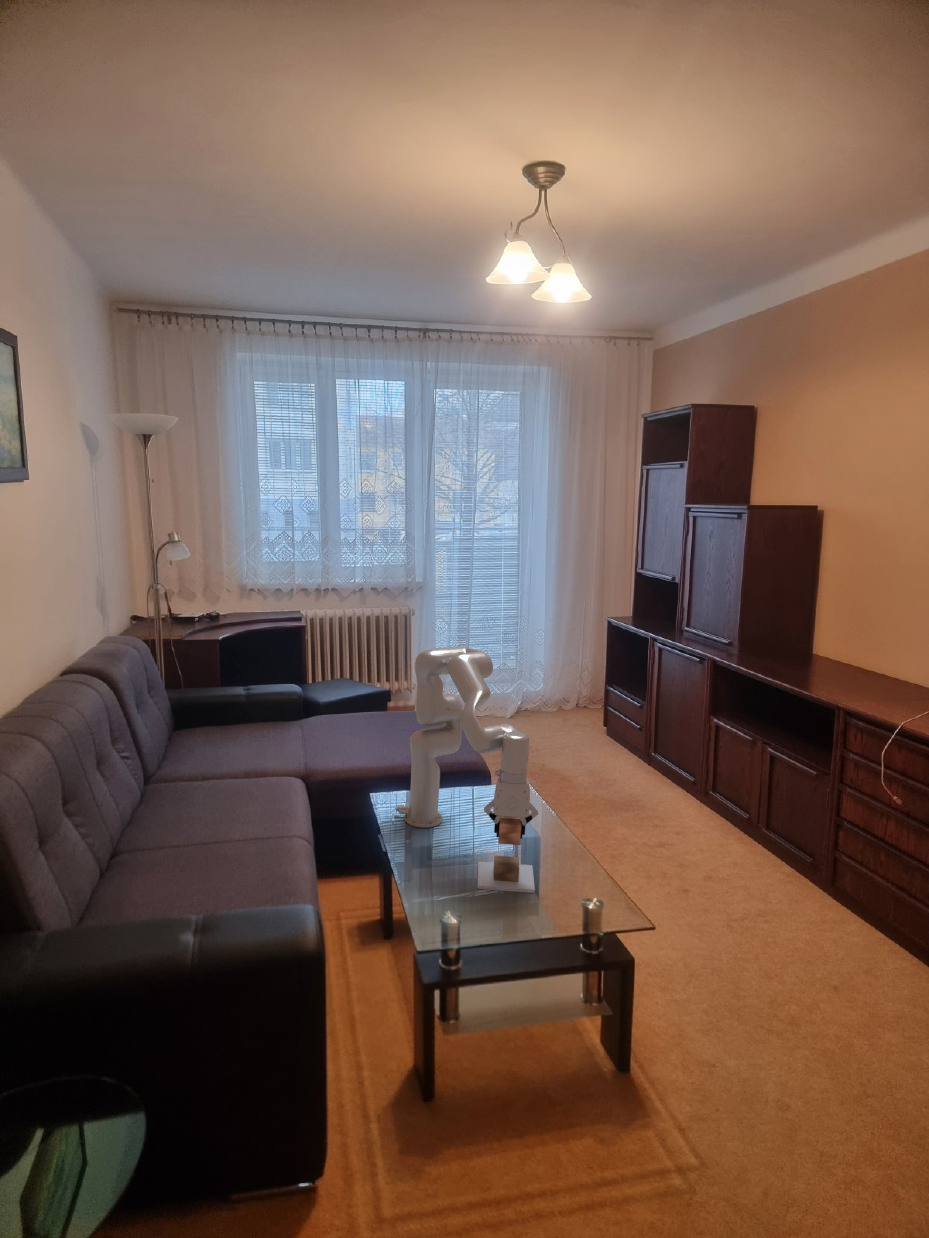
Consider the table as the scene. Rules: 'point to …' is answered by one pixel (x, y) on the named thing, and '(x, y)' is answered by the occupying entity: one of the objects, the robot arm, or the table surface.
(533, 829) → the table surface
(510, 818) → the terracotta cube
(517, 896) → the table surface
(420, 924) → the table surface
